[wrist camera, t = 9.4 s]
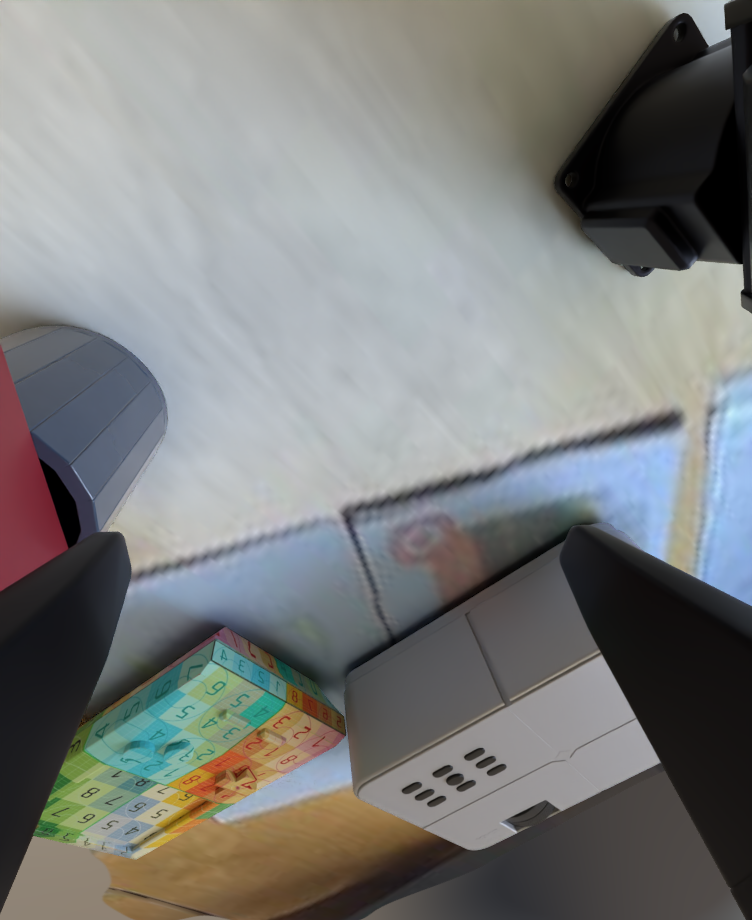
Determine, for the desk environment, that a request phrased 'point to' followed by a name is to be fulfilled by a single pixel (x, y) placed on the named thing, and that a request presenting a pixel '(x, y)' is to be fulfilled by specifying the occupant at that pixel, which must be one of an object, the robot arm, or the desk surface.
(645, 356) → the desk surface
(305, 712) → the puzzle game
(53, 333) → the mug
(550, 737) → the projector
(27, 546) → the red rectangular block
